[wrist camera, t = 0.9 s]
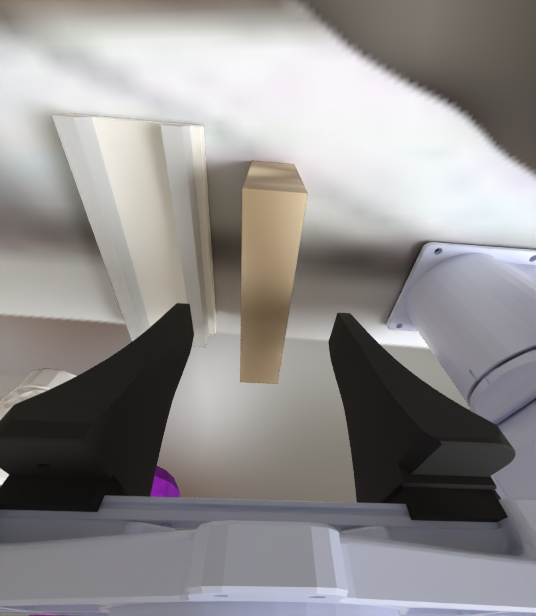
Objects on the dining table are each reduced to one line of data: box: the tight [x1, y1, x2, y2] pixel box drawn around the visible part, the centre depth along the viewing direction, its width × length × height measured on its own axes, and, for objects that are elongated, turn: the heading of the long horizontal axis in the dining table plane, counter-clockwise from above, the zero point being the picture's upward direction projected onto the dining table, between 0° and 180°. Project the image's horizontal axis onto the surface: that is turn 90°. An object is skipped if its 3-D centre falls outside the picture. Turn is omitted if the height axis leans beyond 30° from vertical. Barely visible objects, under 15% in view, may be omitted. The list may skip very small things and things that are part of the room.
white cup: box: [0, 368, 76, 485], centre depth 25 cm, size 8×8×10 cm
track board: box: [52, 114, 217, 347], centre depth 17 cm, size 7×15×2 cm, turn 176°
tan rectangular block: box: [240, 161, 308, 384], centre depth 16 cm, size 2×12×7 cm, turn 176°
